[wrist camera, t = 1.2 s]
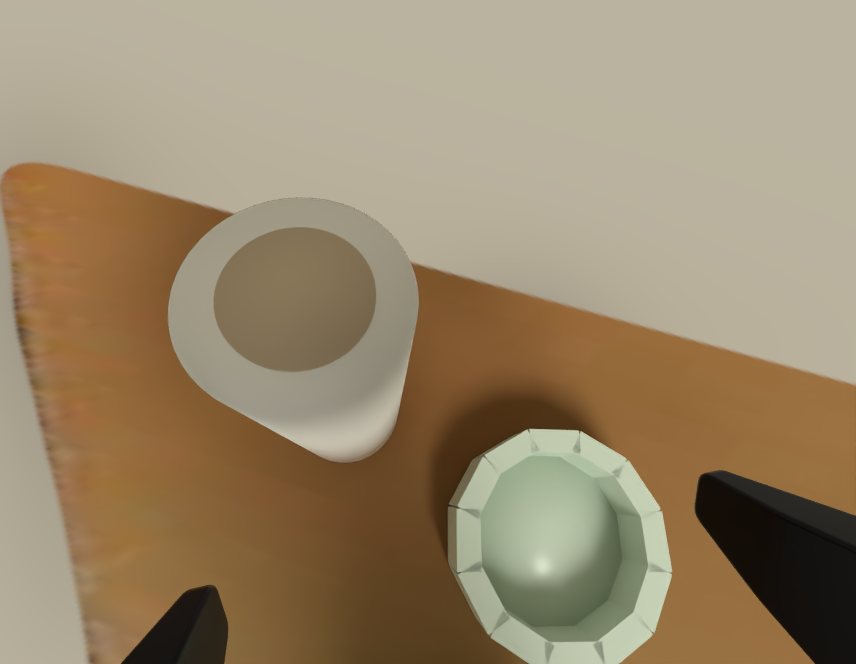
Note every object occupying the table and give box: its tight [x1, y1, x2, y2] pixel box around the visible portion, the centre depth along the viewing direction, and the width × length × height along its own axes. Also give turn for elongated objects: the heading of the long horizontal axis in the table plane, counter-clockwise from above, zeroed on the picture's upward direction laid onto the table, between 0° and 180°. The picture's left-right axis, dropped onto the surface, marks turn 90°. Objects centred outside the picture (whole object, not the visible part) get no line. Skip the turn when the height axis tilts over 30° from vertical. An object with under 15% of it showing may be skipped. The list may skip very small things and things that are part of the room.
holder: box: [448, 429, 672, 664], centre depth 18 cm, size 9×9×2 cm
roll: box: [168, 198, 419, 463], centre depth 15 cm, size 5×5×13 cm
